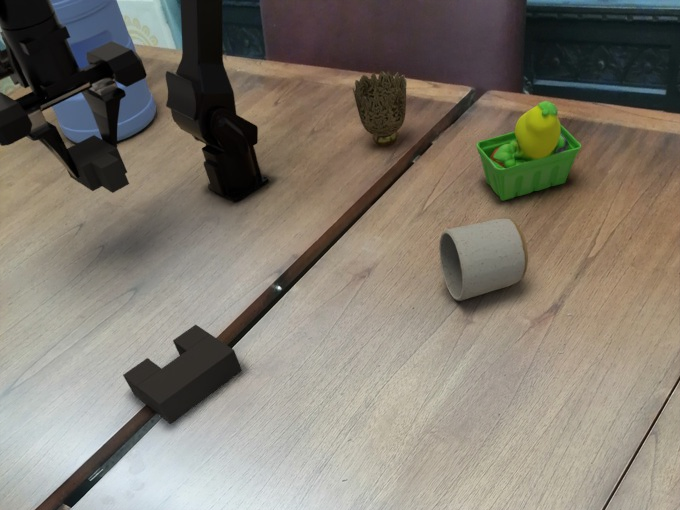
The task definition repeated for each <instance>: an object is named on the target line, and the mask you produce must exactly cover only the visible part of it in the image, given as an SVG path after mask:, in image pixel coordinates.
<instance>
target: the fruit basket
mask: <svg viewBox="0 0 680 510" xmlns="http://www.w3.org/2000/svg"><path fill="white" fill-rule="evenodd" d="M558 114H559V113H558V108H557V106H556V104H555V103H553V102H551V101H548V100H543V101H541V102H539V103H537V105H535V106H534V107H532V108H530V109H529V110H527V111H526V112H524V114H522V115H521V116H520V117H519V118H518V120H517V121H516V123H515V127H514V131H511V132H508V133H505V134H501V135H498V136H494V137H491V138H488V139H487V138H486V139H484V140H480V141H478V142H477V143H476V149H477V153H478V154H479V157H480V160H481V164H482V168H483V169H482V170H483V173H484V176H485V177H484V178H485V181H486V184H487V185H489V186H490V188H491V189H492V190H493V192H494V193H495V195H497V196H498V197H499V199H500V201H503V202H504V201H507V200H511V199H513V198H515V197H521V196H525V195H528V194H531V193H533V192H538V191H539V192H540V191H542V190H545V189H546V190H547V189H549V188H550V187H555V186H559V185H564V184H565V183H566V181H567V178H568V176H569V174H570V172H571V169H572V167H573V164H574V162H575V159H576V157H577V155H578V154H579V152H580V150H581V148H582V144H581V143H580V142H579V141H578V140H577V139H576V138H575V137H574V136H573V135H572V134H571V133H570V132H569V130H567V129H566V128H565V127H564V126H563V125H562V124H561V121H560V119H559V117H558Z"/></svg>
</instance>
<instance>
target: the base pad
mask: <svg viewBox="0 0 680 510" xmlns="http://www.w3.org/2000/svg"><path fill="white" fill-rule="evenodd" d="M172 342H173V344H174V347H175V348H176V350H177V353H178V355H179V356H177V357H176V358H174V359H173V360H171V361H170V362H168V363H167V364H166V365H165V366H163V367H160V366H159V365H157V364H156V363H155V362H153V360H151V359H150V358H148V357H147V358H145V359H143V360H142V361H141V362H139V363H138V364H137V365H135V366H133V367H132V368H130V369H129V370H128V371H126V372H125V373H123V375H122V376H123V378H124V381H125V382H126V383H127V385H128V387H129V388H130V391H131V392H132V394H133V395H134V396H135V397H136V398H137V399H139V400H140V401H141V402H142V403H144V404H145V405H146V406H147V407H148V408H150V409H151V410H152V411H154V412H155V413H156V414H157V415H159V416H160V417H161V418H162V419H164V420H165V421H166V422H168V423H169V424H172V423H173V422H174V421H176V420H177V419H179V418H180V417H182V416H183V415H184V414H185V413H187V412H188V411H189V410H191V409H192V408H193V407H195V406H196V405H198V404H199V403H200V402H201V401H203V400H204V399H206V398H207V397H208V396H210V395H211V394H212V393H214V392H215V391H217V390H218V389H219V388H220V387H222V386H223V385H224V384H226V383H227V382H228V381H230V380H232V378H233V377H235V376H237V375H238V374H240V372H242V368H241V367H242V366H241V364H240V361H239V359H238V356H237V353H236V351H235V350H234V349H233V348H232V347H230V346H228V344H226V343H224V342H223V341H222V340H220V339H219V338H217V337H215V336H214V335H213V334H211V333H209V332H208V331H207V330H205V329H204V328H202V327H200V326H199V325H198V324H194V325H192V327H190V328H189V329H187V330H186V331H184V332H183V333H181V334H180V335H178V336H177V337H175V338H174V339H173V340H172Z"/></svg>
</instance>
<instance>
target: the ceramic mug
mask: <svg viewBox="0 0 680 510" xmlns="http://www.w3.org/2000/svg"><path fill="white" fill-rule="evenodd" d="M521 228H522V227H520V225H519V224H518V223H517V222H516V221H515V220H513V219H512V218H495V219H494V218H493V219H490V220H486V221H482V222H477V223H472V224H467V225H462V226H456V227H452V228H447V229H445V230H443V231H442V233H441V234H440V239H439V247H438V249H439V259H440V260H439V261H440V266H441V271H442V275H443V280H444V283H445V286H446V287H447V289H448V292H449V294H450V295H451V297H452V298H453V299H454V300H455V301H457V302H461V301H464V300H467V299H471V298H475V297H477V296H481V295H484V294H488V293H491V292H494V291H497V290H501V289H504V288H508V287H510V286H513V285H514V284H518V282H520V281H521V280H522V279H523V278H524V277H525V275H526V273H527V270H528V265H529V253H528V245H527V241H526V238H525V234H524V232H523V230H522V229H521Z"/></svg>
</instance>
